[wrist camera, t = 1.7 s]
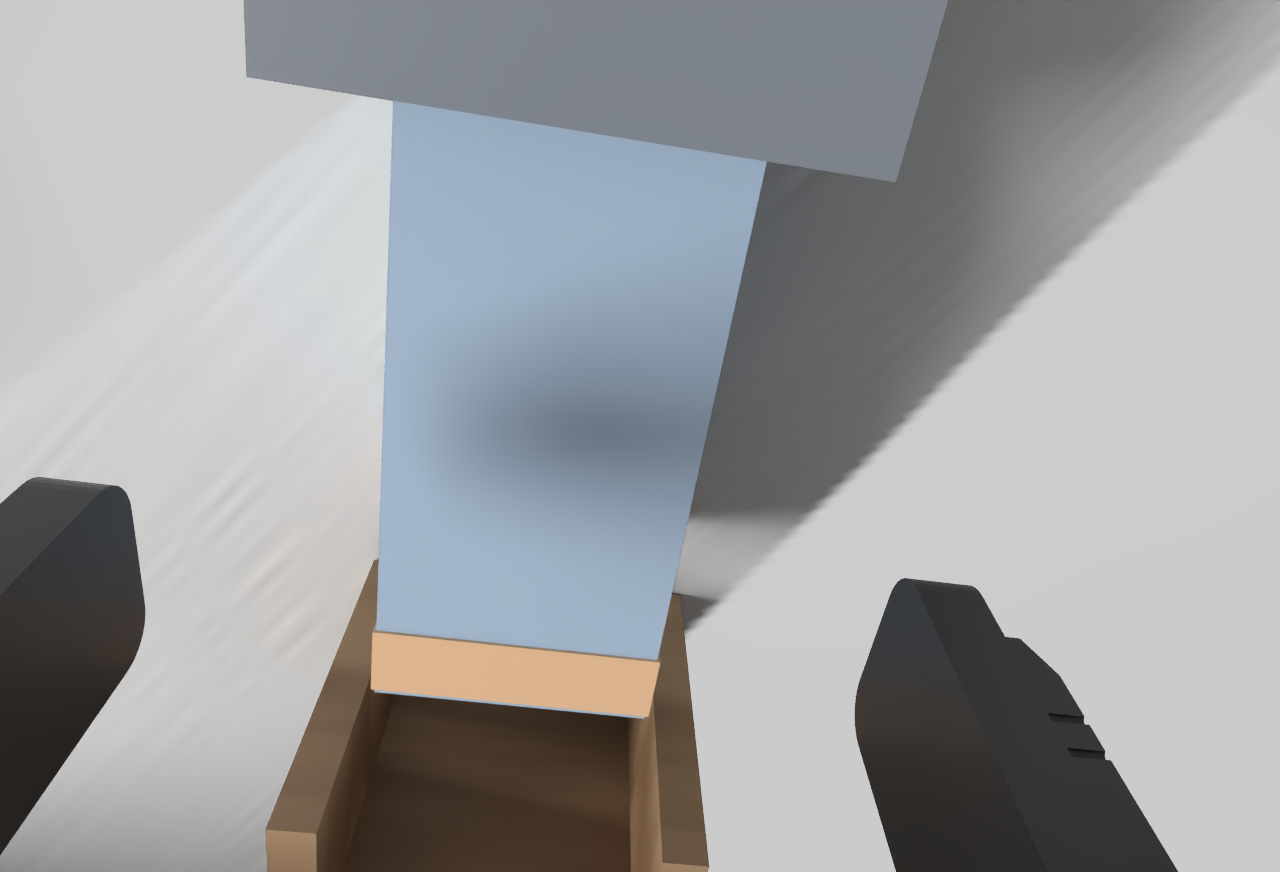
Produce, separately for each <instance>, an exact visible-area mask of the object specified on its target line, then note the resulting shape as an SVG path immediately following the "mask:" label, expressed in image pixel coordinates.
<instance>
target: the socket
mask: <svg viewBox="0 0 1280 872" xmlns="http://www.w3.org/2000/svg"><path fill="white" fill-rule="evenodd" d="M378 563H379V561H378V560H374V562H373V565H372V567H371V570H370V572H369V575H368V577H367V579H366V582H365V584H364V587H363V589H362V592H361V594H360V597H359V599H358V602H357V604H356V607H355V609H354V612H353V614H352V617H351V619H350V622H349V624H348V627H347V629H346V632H345V634H344V636H343V639H342V641H341V644H340V646H339V649H338V651H337V654H336V656H335V659H334V661H333V664H332V666H331V669H330V671H329V674H328V676H327V679H326V681H325V684H324V686H323V689H322V691H321V693H320V696H319V698H318V701H317V703H316V706H315V708H314V711H313V713H312V716H311V718H310V721H309V723H308V726H307V728H306V731H305V733H304V736H303V738H302V741H301V743H300V746H299V748H298V751H297V753H296V755H295V758H294V760H293V763H292V765H291V768H290V770H289V773H288V775H287V778H286V780H285V783H284V785H283V788H282V790H281V793H280V795H279V798H278V800H277V803H276V805H275V808H274V810H273V812H272V815H271V817H270V820H269V822H268V825H267V827H266V849H267V870H268V872H708V869H709V861H708V853H707V842H706V833H705V824H704V815H703V805H702V796H701V786H700V777H699V768H698V758H697V749H696V740H695V730H694V721H693V711H692V702H691V693H690V683H689V674H688V664H687V655H686V646H685V636H684V627H683V617H682V608H681V599H680V595H678V594H672V595H671V600H670V605H669V609H668V614H667V618H666V623H665V627H664V632H663V636H662V641H661V645H660V667H659V671H658V676H657V680H656V685H655V689H654V694H653V698H652V703H651V707H650V712H649V716H648V717H645V718H644V719H641V718H631V717H621V716H611V715H601V714H591V713H580V712H570V711H560V710H550V709H540V708H530V707H520V706H510V705H500V704H490V703H480V702H470V701H460V700H450V699H439V698H429V697H419V696H409V695H399V694H389V693H379V692H374V690H372V689H371V662H372V632H373V629H374V626H375V624H376V621H377V594H378Z"/></svg>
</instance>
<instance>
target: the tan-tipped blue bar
mask: <svg viewBox="0 0 1280 872" xmlns="http://www.w3.org/2000/svg"><path fill="white" fill-rule="evenodd" d="M766 164H767V162H766V161H760V160H754V159H748V158H742V157H736V156H729V155H723V154H717V153H711V152H705V151H699V150H693V149H686V148H680V147H674V146H668V145H662V144H656V143H650V142H643V141H637V140H631V139H625V138H619V137H613V136H607V135H600V134H594V133H588V132H582V131H576V130H570V129H564V128H557V127H551V126H545V125H539V124H533V123H527V122H521V121H514V120H508V119H502V118H496V117H490V116H484V115H478V114H471V113H465V112H459V111H453V110H447V109H441V108H435V107H428V106H422V105H416V104H410V103H404V102H398V101H393V122H392V154H391V185H390V217H389V248H388V280H387V311H386V342H385V374H384V405H383V437H382V468H381V500H380V531H379V563H378V594H377V621H376V624H375V626H374V629H373V632H372V662H371V689H372V690H374V692H379V693H389V694H399V695H409V696H419V697H429V698H439V699H450V700H460V701H470V702H480V703H490V704H500V705H510V706H520V707H530V708H540V709H550V710H560V711H570V712H580V713H591V714H601V715H611V716H621V717H631V718H641V719H644V718H645V717H648V716H649V712H650V707H651V703H652V698H653V694H654V689H655V685H656V680H657V676H658V671H659V667H660V645H661V641H662V636H663V632H664V627H665V623H666V618H667V614H668V609H669V605H670V600H671V595H672V591H673V586H674V582H675V577H676V573H677V568H678V564H679V559H680V555H681V550H682V545H683V541H684V536H685V532H686V527H687V523H688V518H689V514H690V509H691V505H692V500H693V495H694V491H695V486H696V482H697V477H698V473H699V468H700V464H701V459H702V455H703V450H704V445H705V441H706V436H707V432H708V427H709V423H710V418H711V414H712V409H713V405H714V400H715V395H716V391H717V386H718V382H719V377H720V373H721V368H722V364H723V359H724V355H725V350H726V345H727V341H728V336H729V332H730V327H731V323H732V318H733V314H734V309H735V304H736V300H737V295H738V291H739V286H740V282H741V277H742V273H743V268H744V264H745V259H746V254H747V250H748V245H749V241H750V236H751V232H752V227H753V223H754V218H755V214H756V209H757V204H758V200H759V195H760V191H761V186H762V182H763V177H764V173H765V168H766Z"/></svg>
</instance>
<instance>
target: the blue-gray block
mask: <svg viewBox="0 0 1280 872" xmlns="http://www.w3.org/2000/svg"><path fill="white" fill-rule="evenodd" d="M947 3H948V0H244V20H245V46H246V70H247V71H246V72H247V77H251V78H256V79H263V80H269V81H275V82H282V83H287V84H293V85H300V86H306V87H312V88H318V89H324V90H330V91H336V92H342V93H349V94H355V95H361V96H367V97H373V98H379V99H385V100H392V101H398V102H404V103H410V104H416V105H422V106H428V107H435V108H441V109H447V110H453V111H459V112H465V113H471V114H478V115H484V116H490V117H496V118H502V119H508V120H514V121H521V122H527V123H533V124H539V125H545V126H551V127H557V128H564V129H570V130H576V131H582V132H588V133H594V134H600V135H607V136H613V137H619V138H625V139H631V140H637V141H643V142H650V143H656V144H662V145H668V146H674V147H680V148H686V149H693V150H699V151H705V152H711V153H717V154H723V155H729V156H736V157H742V158H748V159H754V160H760V161H766V162H772V163H779V164H785V165H791V166H797V167H803V168H809V169H815V170H822V171H828V172H834V173H840V174H846V175H852V176H858V177H865V178H871V179H877V180H883V181H889V182H895V183H896V181H897V177H898V174H899V170H900V167H901V163H902V160H903V156H904V153H905V149H906V146H907V143H908V139H909V136H910V132H911V129H912V125H913V122H914V118H915V115H916V111H917V108H918V104H919V101H920V97H921V94H922V90H923V87H924V83H925V80H926V76H927V73H928V70H929V66H930V63H931V59H932V56H933V52H934V49H935V45H936V42H937V38H938V35H939V31H940V28H941V24H942V21H943V17H944V14H945V10H946V7H947Z"/></svg>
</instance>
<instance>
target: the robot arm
mask: <svg viewBox="0 0 1280 872" xmlns="http://www.w3.org/2000/svg"><path fill="white" fill-rule="evenodd" d="M144 623H145V602H144V595H143V588H142V581H141V574H140V567H139V560H138V553H137V545H136V538H135V531H134V524H133V517H132V510H131V505H130V501H129V498H128V496H127V494H126V492H125V491H124V490H123V489H122V488H120V487H119V486H113V485H104V484H95V483H86V482H78V481H69V480H60V479H51V478H43V477H36V478H32V479H30V480H28V481H26V482H25V483H24V484H22V485H21V486H20V487H19V488H18V489H17V490H15V491H14V492H13V493H12V494H11V495H10V496H9V497H8V498H6V499H5V500H4V501H3V502H2V503H1V504H0V855H1V853H2V852H3V850H4V849H5V848H6V846H7V845H8V843H9V842H10V840H11V839H12V837H13V836H14V835H15V833H16V832H17V830H18V829H19V827H20V826H21V824H22V823H23V822H24V820H25V819H26V817H27V816H28V814H29V813H30V811H31V810H32V809H33V807H34V806H35V804H36V803H37V801H38V800H39V798H40V797H41V795H42V794H43V793H44V791H45V790H46V788H47V787H48V785H49V784H50V782H51V781H52V780H53V778H54V777H55V775H56V774H57V772H58V771H59V769H60V768H61V767H62V765H63V764H64V762H65V761H66V759H67V758H68V756H69V755H70V754H71V752H72V751H73V749H74V748H75V746H76V745H77V743H78V742H79V741H80V739H81V738H82V736H83V735H84V733H85V732H86V730H87V729H88V728H89V726H90V725H91V723H92V722H93V720H94V719H95V717H96V716H97V715H98V713H99V712H100V710H101V709H102V707H103V706H104V704H105V703H106V702H107V700H108V699H109V697H110V696H111V694H112V693H113V691H114V690H115V689H116V687H117V686H118V684H119V683H120V681H121V680H122V678H123V677H124V676H125V674H126V673H127V671H128V670H129V668H130V666H131V665H132V663H133V661H134V659H135V656H136V654H137V651H138V649H139V646H140V643H141V639H142V635H143V630H144ZM855 727H856V735H857V741H858V745H859V748H860V752H861V755H862V758H863V762H864V765H865V768H866V772H867V775H868V779H869V781H870V785H871V789H872V792H873V795H874V799H875V802H876V805H877V809H878V812H879V816H880V819H881V822H882V826H883V829H884V832H885V836H886V839H887V843H888V846H889V849H890V852H891V856H892V859H893V863H894V866H895V869H896V872H1178V871H1177V869H1176V868H1175V866H1174V864H1173V863H1172V861H1171V859H1170V858H1169V856H1168V854H1167V853H1166V851H1165V849H1164V848H1163V846H1162V844H1161V843H1160V841H1159V840H1158V838H1157V836H1156V834H1155V833H1154V831H1153V829H1152V828H1151V826H1150V825H1149V823H1148V821H1147V819H1146V818H1145V816H1144V815H1143V813H1142V811H1141V810H1140V808H1139V806H1138V805H1137V803H1136V801H1135V800H1134V798H1133V796H1132V795H1131V793H1130V791H1129V790H1128V788H1127V786H1126V785H1125V783H1124V781H1123V780H1122V778H1121V776H1120V775H1119V773H1118V772H1117V770H1116V768H1115V767H1114V765H1113V763H1112V762H1111V761H1110V760H1106V759H1105V750H1104V748H1103V747H1102V745H1101V743H1100V742H1099V740H1098V738H1097V737H1096V735H1095V733H1094V732H1093V730H1092V728H1091V727H1090V725H1085V724H1084V715H1083V714H1082V712H1081V710H1080V709H1079V707H1078V705H1077V704H1076V702H1075V700H1074V699H1073V697H1072V695H1071V694H1070V692H1069V690H1068V689H1067V687H1066V685H1065V684H1064V682H1063V681H1062V679H1061V677H1060V676H1059V675H1058V674H1057V673H1056V672H1055V671H1054V670H1053V669H1052V668H1051V667H1050V666H1049V665H1048V664H1047V663H1045V662H1044V661H1043V660H1042V659H1041V658H1040V657H1039V656H1038V655H1037V654H1036V653H1035V652H1034V651H1033V650H1031V649H1030V648H1029V647H1028V646H1027V645H1026V644H1025V643H1024V642H1023V641H1022V640H1021V639H1018V638H1009V637H1005V636H1004V634H1003V632H1002V631H1001V629H1000V627H999V625H998V624H997V622H996V620H995V618H994V616H993V615H992V613H991V611H990V609H989V608H988V606H987V604H986V602H985V600H984V598H983V597H982V595H981V594H980V592H979V591H978V590H977V589H976V588H974V587H973V586H968V585H958V584H950V583H941V582H932V581H924V580H915V579H907V578H904V579H901V580H900V581H898V582H897V584H896V585H895V586H894V588H893V590H892V592H891V595H890V597H889V600H888V603H887V606H886V608H885V611H884V614H883V617H882V620H881V622H880V625H879V628H878V631H877V634H876V637H875V639H874V642H873V645H872V648H871V651H870V653H869V656H868V659H867V662H866V665H865V667H864V671H863V673H862V676H861V679H860V682H859V685H858V689H857V695H856V703H855Z"/></svg>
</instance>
